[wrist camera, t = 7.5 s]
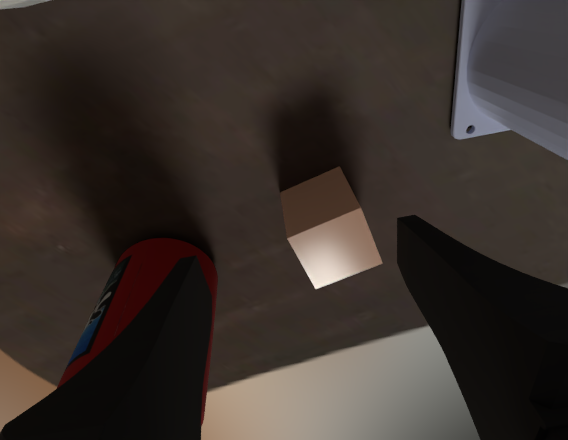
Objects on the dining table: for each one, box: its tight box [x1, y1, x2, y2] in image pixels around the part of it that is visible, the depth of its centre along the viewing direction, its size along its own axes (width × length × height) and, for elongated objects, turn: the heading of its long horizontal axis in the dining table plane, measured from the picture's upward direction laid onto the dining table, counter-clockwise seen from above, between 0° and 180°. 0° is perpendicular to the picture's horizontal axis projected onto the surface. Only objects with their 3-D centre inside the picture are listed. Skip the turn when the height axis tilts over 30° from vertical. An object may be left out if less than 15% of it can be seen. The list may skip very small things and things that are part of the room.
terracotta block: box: [280, 166, 382, 289], centre depth 22 cm, size 4×4×5 cm
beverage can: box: [57, 238, 218, 426], centre depth 20 cm, size 7×7×12 cm
